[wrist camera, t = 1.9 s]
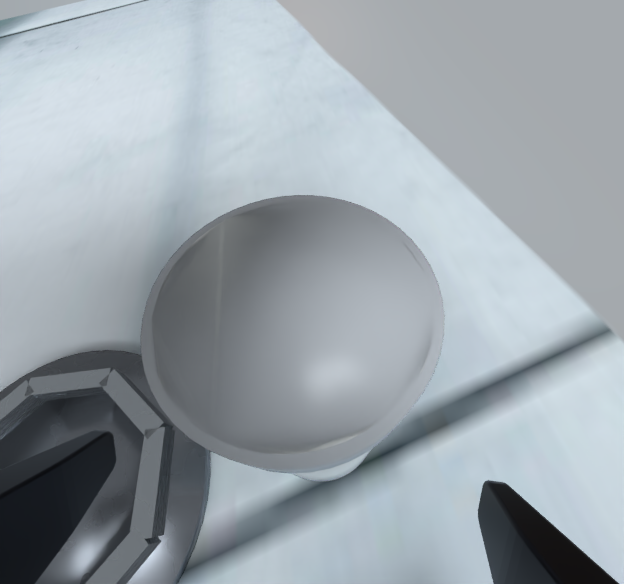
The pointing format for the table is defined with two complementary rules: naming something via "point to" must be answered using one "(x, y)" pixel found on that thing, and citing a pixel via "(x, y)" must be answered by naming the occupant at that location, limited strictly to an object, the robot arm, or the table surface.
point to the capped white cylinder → (293, 334)
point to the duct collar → (126, 474)
